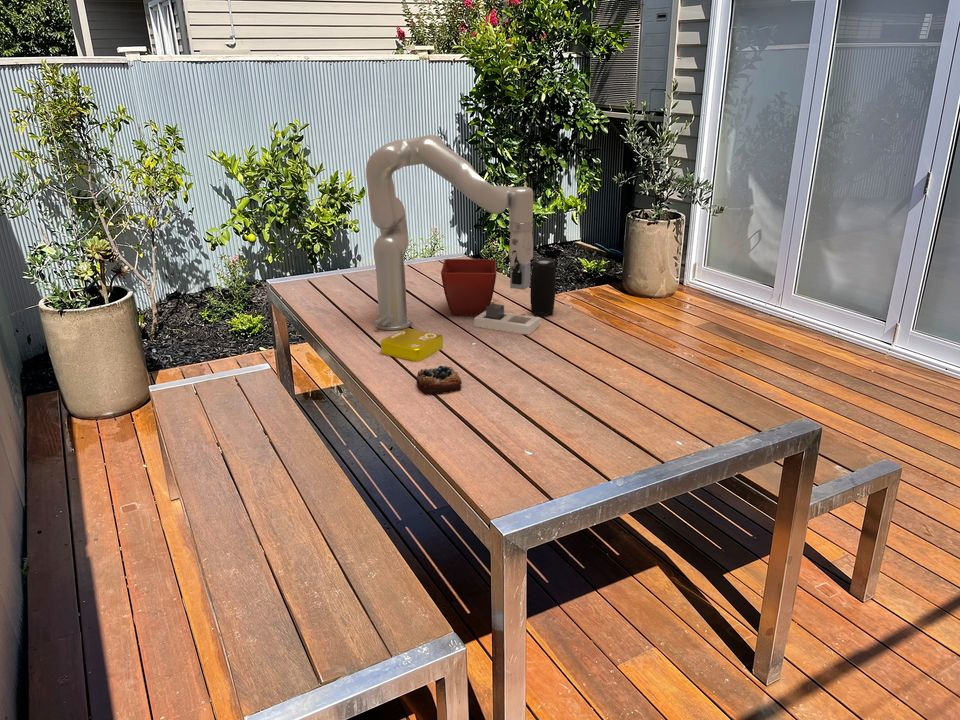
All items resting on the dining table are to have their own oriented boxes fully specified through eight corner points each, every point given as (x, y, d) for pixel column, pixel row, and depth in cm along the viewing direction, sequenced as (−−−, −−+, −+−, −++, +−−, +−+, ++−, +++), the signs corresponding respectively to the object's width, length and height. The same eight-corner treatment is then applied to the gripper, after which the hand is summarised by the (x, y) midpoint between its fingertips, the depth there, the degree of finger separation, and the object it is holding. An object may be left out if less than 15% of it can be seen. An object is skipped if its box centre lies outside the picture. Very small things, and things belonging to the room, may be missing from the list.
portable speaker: (528, 316, 249) (529, 262, 242) (532, 308, 257) (533, 256, 250) (552, 318, 247) (554, 264, 240) (555, 310, 256) (557, 257, 249)
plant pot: (496, 319, 247) (496, 272, 240) (441, 319, 247) (440, 272, 241) (496, 303, 264) (496, 259, 258) (445, 302, 265) (444, 258, 258)
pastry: (412, 382, 197) (412, 362, 195) (453, 376, 201) (453, 357, 199) (423, 397, 188) (422, 377, 185) (465, 391, 191) (465, 371, 189)
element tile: (406, 339, 229) (406, 325, 227) (445, 348, 222) (445, 333, 220) (378, 354, 217) (377, 340, 215) (418, 363, 210) (418, 348, 208)
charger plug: (524, 289, 229) (524, 262, 226) (510, 287, 231) (510, 261, 228) (530, 285, 234) (530, 259, 230) (516, 284, 236) (516, 257, 232)
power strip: (528, 335, 232) (529, 316, 229) (474, 326, 240) (474, 308, 237) (547, 319, 247) (548, 301, 244) (495, 311, 254) (495, 294, 252)
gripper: (521, 232, 216) (520, 289, 223) (541, 222, 231) (540, 276, 237) (499, 230, 219) (499, 287, 226) (520, 221, 234) (519, 274, 240)
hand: (520, 281), depth 232 cm, fingers closed on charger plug, 5 cm apart
